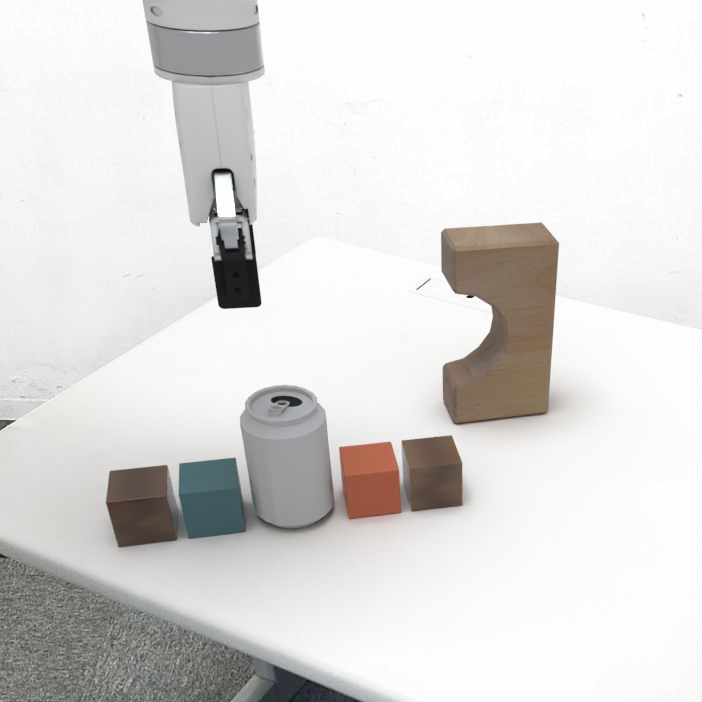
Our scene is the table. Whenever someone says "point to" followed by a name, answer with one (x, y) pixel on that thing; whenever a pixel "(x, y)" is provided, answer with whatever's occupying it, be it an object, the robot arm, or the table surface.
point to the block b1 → (142, 505)
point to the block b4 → (432, 472)
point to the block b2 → (211, 497)
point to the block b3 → (370, 479)
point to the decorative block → (503, 319)
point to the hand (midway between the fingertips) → (238, 280)
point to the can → (287, 456)
